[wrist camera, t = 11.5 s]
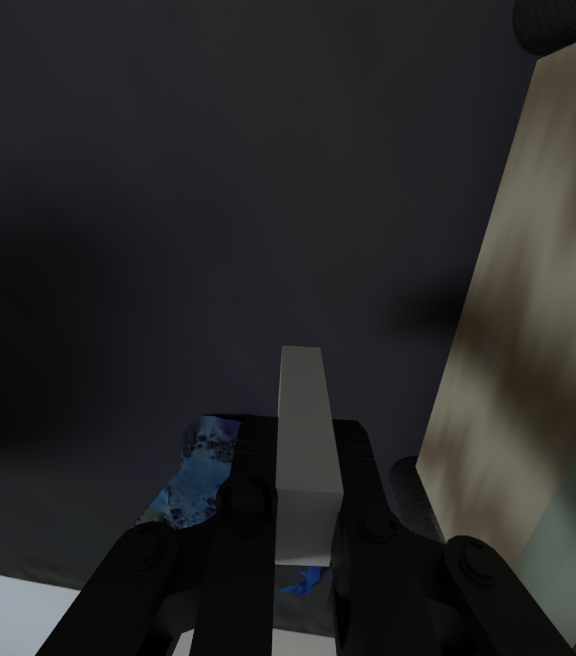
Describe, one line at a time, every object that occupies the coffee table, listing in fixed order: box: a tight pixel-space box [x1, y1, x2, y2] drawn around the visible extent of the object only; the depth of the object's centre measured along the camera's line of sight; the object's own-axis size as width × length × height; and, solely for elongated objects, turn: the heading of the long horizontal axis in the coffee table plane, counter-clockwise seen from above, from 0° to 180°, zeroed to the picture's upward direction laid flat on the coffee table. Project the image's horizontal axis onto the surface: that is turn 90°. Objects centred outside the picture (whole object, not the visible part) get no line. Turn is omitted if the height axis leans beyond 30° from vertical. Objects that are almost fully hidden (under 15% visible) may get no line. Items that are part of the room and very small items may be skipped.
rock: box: [131, 414, 322, 595], centre depth 24 cm, size 15×17×2 cm
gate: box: [416, 43, 576, 648], centre depth 12 cm, size 20×3×9 cm, turn 176°
